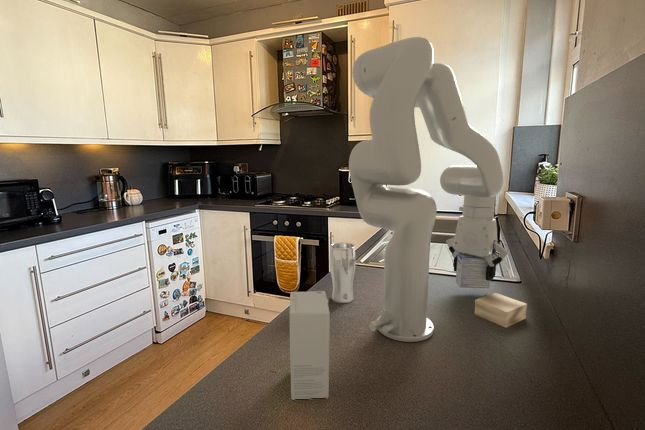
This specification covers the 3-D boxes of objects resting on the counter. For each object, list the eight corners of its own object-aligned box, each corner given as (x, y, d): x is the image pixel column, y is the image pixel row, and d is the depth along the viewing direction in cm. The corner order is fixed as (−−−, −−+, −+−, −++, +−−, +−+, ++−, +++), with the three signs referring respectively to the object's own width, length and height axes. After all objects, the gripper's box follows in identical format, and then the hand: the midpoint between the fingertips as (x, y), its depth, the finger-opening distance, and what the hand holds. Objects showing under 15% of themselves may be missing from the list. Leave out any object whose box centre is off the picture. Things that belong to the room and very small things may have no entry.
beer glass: (358, 295, 97) (359, 243, 94) (350, 306, 91) (350, 250, 88) (335, 292, 100) (335, 241, 97) (325, 301, 94) (325, 247, 91)
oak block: (505, 328, 79) (507, 312, 78) (474, 315, 85) (475, 299, 85) (525, 319, 83) (526, 303, 82) (493, 307, 89) (494, 292, 89)
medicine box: (484, 283, 98) (486, 253, 97) (490, 289, 94) (492, 258, 92) (455, 282, 99) (457, 252, 98) (459, 288, 95) (462, 257, 93)
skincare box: (291, 370, 64) (288, 290, 62) (327, 368, 65) (326, 289, 62) (290, 402, 56) (287, 312, 53) (331, 400, 57) (330, 310, 54)
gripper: (441, 209, 97) (437, 269, 100) (505, 218, 84) (498, 287, 87) (455, 207, 102) (451, 264, 105) (518, 215, 89) (512, 280, 91)
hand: (473, 274), depth 96 cm, fingers closed on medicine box, 8 cm apart
